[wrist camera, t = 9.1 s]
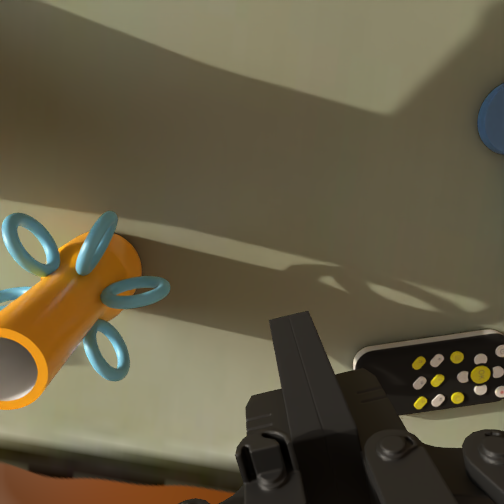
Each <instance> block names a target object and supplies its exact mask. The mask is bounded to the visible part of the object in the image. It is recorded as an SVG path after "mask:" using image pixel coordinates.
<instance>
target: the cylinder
mask: <svg viewBox="0 0 504 504" xmlns="http://www.w3.org/2000/svg"><path fill="white" fill-rule="evenodd" d="M117 222H118V217H117V214H116V213H115V212H113V211H107V212H105V213H103V214H102V215H101V216H100V217H99V219H98V220H97V221H96V223H95V224H94V225H93V227H92V229H91V230H90V231H89V232H86V233H83V234H81V235H79V236H78V237H76V238H74V239H73V240H71V241H70V242H68V243H67V244H65V245H63V246H62V247H60V248H59V249H58V248H57V245H56V243H55V241H54V239H53V238H52V236H51V235H50V233H49V232H48V231H47V230H46V228H45V227H44V226H43V225H42V224H41V223H39V222H38V221H37V220H36V219H34V218H32V217H31V216H29V215H26V214H23V213H13V214H10V215H9V216H7V217H6V218H5V219H4V221H3V224H2V237H3V241H4V243H5V246H6V248H7V250H8V251H9V253H10V254H11V256H12V257H13V259H14V260H15V261H16V262H17V263H18V264H19V265H20V266H21V267H22V268H23V269H25V270H26V271H28V272H29V273H31V274H33V275H36V276H39V277H41V281H40V282H38V283H37V284H36V285H34V286H33V287H16V288H10V289H5V290H1V291H0V303H2V302H5V301H9V300H14V301H13V302H12V303H10V304H9V305H5V306H0V409H2V410H11V409H18V408H22V407H24V406H27V405H29V404H31V403H32V402H34V401H35V400H36V399H37V398H38V397H39V396H40V395H41V394H42V392H43V391H44V390H45V388H46V387H47V386H48V384H49V383H50V382H51V380H52V379H53V378H54V376H55V375H56V374H57V373H58V371H59V370H60V369H61V367H62V366H63V365H64V363H65V362H66V361H67V359H68V358H69V357H70V355H71V354H72V353H73V351H74V350H75V349H76V347H77V346H78V345H79V343H80V342H81V341H82V339H83V345H84V349H85V352H86V355H87V357H88V359H89V361H90V363H91V365H92V366H93V368H94V369H95V370H96V371H97V372H98V373H99V374H100V375H101V376H102V377H104V378H105V379H107V380H110V381H119V380H122V379H123V378H124V377H125V376H126V375H127V373H128V371H129V367H130V359H129V353H128V350H127V347H126V344H125V342H124V340H123V338H122V337H121V335H120V334H119V332H118V331H117V330H116V329H115V328H114V327H113V326H112V325H111V324H110V323H108V321H110V320H111V319H113V318H115V317H116V316H117V315H118V314H119V313H120V312H121V311H122V310H123V309H131V308H138V307H143V306H147V305H150V304H153V303H155V302H158V301H160V300H162V299H163V298H164V297H166V296H167V295H168V293H169V292H170V283H169V282H168V281H167V280H166V279H164V278H161V277H156V276H141V275H142V266H141V261H140V258H139V256H138V254H137V252H136V250H135V249H134V247H133V246H132V245H131V244H130V243H129V242H128V241H127V240H126V239H124V238H123V237H121V236H119V235H117V234H115V233H114V232H115V229H116V226H117ZM18 226H22V227H24V228H26V229H28V230H29V231H30V232H32V233H33V234H34V235H35V236H36V237H37V239H38V240H39V241H40V243H41V244H42V246H43V248H44V250H45V253H46V257H47V261H46V263H45V264H42V263H40V262H38V261H36V260H35V259H34V258H33V257H31V256H30V255H29V253H28V252H27V251H26V250H25V248H24V247H23V245H22V244H21V242H20V240H19V237H18V233H17V227H18ZM138 288H155V289H153V290H151V291H148V292H145V293H141V294H136V295H133V294H134V292H135V291H136V289H138ZM15 299H16V300H15ZM97 331H100V332H102V333H103V334H104V335H105V336H106V337H107V338H108V339H109V340H110V342H111V343H112V345H113V347H114V349H115V351H116V354H117V359H118V366H117V369H115V368H113V367H111V366H110V365H109V364H108V363H107V362H106V361H105V359H104V358H103V356H102V355H101V353H100V350H99V348H98V345H97V341H96V333H97Z"/></svg>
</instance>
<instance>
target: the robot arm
mask: <svg viewBox="0 0 504 504" xmlns="http://www.w3.org/2000/svg"><path fill="white" fill-rule="evenodd" d="M269 323H270V329H271V334H272V339H273V345H274V350H275V355H276V361H277V366H278V371H279V376H280V382H281V387H282V389H278V390H273V391H269V392H265V393H261V394H257V395H252V396H251V398H250V400H249V402H248V404H247V406H246V421H247V422H246V428H247V436H246V437H245V438H244V439H243V440H242V441H241V442H240V444H239V445H238V446H237V450H236V454H235V456H236V460H237V463H238V466H239V469H240V473H241V476H242V479H243V482H244V484H243V485H242V487H241V488H240V489H239V490H238V491H237V492H236V493H235V494H234V495H233V496H231V497H230V498H228V499H226V500H225V501H223V502H221V503H219V504H504V431H501V430H488V429H484V430H480V431H477V432H473V433H472V434H470V435H469V436H468V437H466V438H465V440H464V443H463V445H462V448H442V447H434V446H430V445H427V444H424V443H422V442H421V441H420V440H419V439H418V438H417V437H416V436H415V435H413V434H411V433H409V432H408V431H407V430H406V428H405V426H404V424H403V423H402V421H401V419H400V418H399V416H398V414H397V412H396V411H395V409H394V407H393V405H392V404H391V402H390V400H389V399H388V397H387V395H386V393H385V392H384V390H383V388H382V387H381V385H380V383H379V381H378V380H377V378H376V376H375V375H373V374H372V373H370V372H369V371H367V370H366V369H364V368H361V369H357V370H353V371H348V372H344V373H340V374H336V375H335V374H334V371H333V369H332V366H331V364H330V362H329V359H328V357H327V354H326V352H325V350H324V347H323V345H322V342H321V340H320V338H319V335H318V333H317V330H316V328H315V326H314V323H313V321H312V318H311V316H310V314H309V311H305V312H301V313H296V314H292V315H288V316H284V317H280V318H276V319H272V320H269ZM179 504H210V503H208V502H207V501H206V500H202V499H196V498H195V499H190V500H185V501H183V502H181V503H179Z"/></svg>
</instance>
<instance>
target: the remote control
mask: <svg viewBox="0 0 504 504" xmlns="http://www.w3.org/2000/svg"><path fill="white" fill-rule="evenodd" d="M361 368H364V369H366V370H367V371H369V372H370V373H372V374H373V375H375V376H376V378H377V380H378V381H379V383H380V385H381V387H382V388H383V390H384V392H385V393H386V395H387V397H388V399H389V400H390V402H391V404H392V405H393V407H394V409H395V411H396V412H397V414H398V415H405V414H412V413H419V412H426V411H434V410H441V409H448V408H455V407H462V406H469V405H476V404H483V403H490V402H496V401H500V400H502V399H504V335H503V334H502V333H500V332H499V331H497V330H492V329H486V330H479V331H472V332H465V333H458V334H451V335H444V336H437V337H430V338H423V339H416V340H409V341H402V342H395V343H388V344H381V345H374V346H368V347H365V348H363V349H361V350H360V351H359V352H358V353H357V354H356V356H355V358H354V361H353V370H357V369H361Z"/></svg>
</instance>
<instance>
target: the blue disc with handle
mask: <svg viewBox="0 0 504 504" xmlns="http://www.w3.org/2000/svg"><path fill="white" fill-rule="evenodd" d="M478 132H479V135H480V137H481V139H482V141H483V143H484V144H485V145H486V146H487V147H488V148H489V149H490V150H492V151H494V152H496V153H499V154H503V155H504V83H503V84H501V85H499V86H498V87H496V88H495V89H494V90H493V91H492V92H491V93H490V94H489V95H488V96H487V97H486V99H485V100H484V102H483V104H482V106H481V108H480V111H479V115H478Z"/></svg>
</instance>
